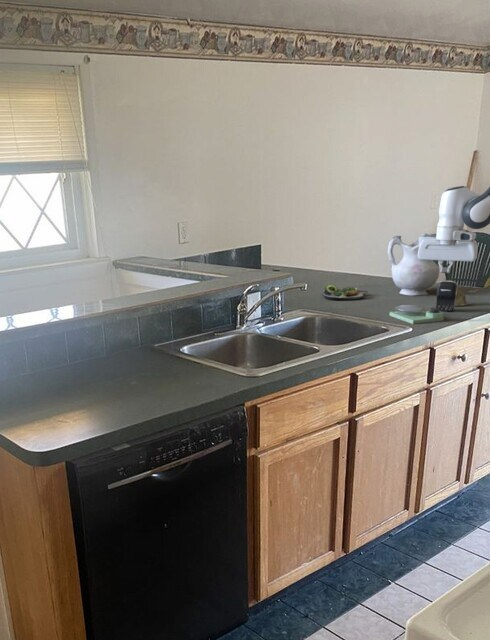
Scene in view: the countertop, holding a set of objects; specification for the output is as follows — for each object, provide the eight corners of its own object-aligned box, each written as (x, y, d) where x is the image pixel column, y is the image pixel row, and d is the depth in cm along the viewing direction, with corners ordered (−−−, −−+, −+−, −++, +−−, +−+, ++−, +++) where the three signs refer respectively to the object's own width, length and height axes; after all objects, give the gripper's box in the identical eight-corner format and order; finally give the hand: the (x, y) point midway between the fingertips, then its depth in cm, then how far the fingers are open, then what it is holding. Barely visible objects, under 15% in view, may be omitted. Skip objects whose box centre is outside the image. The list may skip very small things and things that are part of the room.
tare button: (440, 313, 241) (441, 309, 240) (433, 314, 240) (433, 309, 239) (435, 311, 243) (435, 307, 243) (428, 312, 243) (428, 308, 242)
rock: (472, 298, 263) (448, 292, 269) (472, 283, 256) (447, 277, 262) (459, 318, 260) (435, 311, 266) (458, 303, 254) (434, 297, 260)
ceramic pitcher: (392, 301, 280) (400, 241, 268) (377, 289, 297) (384, 232, 285) (442, 298, 280) (452, 239, 268) (424, 287, 297) (433, 230, 286)
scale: (445, 320, 241) (446, 312, 240) (413, 324, 238) (414, 316, 237) (419, 312, 255) (420, 304, 253) (389, 315, 251) (390, 308, 250)
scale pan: (429, 310, 244) (429, 309, 243) (405, 313, 241) (405, 311, 241) (412, 305, 253) (413, 303, 252) (390, 308, 250) (390, 306, 250)
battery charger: (433, 311, 255) (436, 281, 250) (436, 309, 258) (439, 280, 253) (452, 313, 251) (456, 283, 247) (454, 311, 254) (458, 281, 249)
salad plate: (364, 291, 294) (364, 281, 292) (371, 300, 278) (372, 289, 276) (320, 292, 296) (320, 282, 294) (325, 301, 280) (326, 290, 278)
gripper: (417, 234, 240) (413, 272, 245) (478, 235, 229) (472, 275, 235) (421, 232, 245) (417, 270, 250) (480, 233, 234) (475, 272, 240)
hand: (444, 272), depth 242 cm, fingers closed
